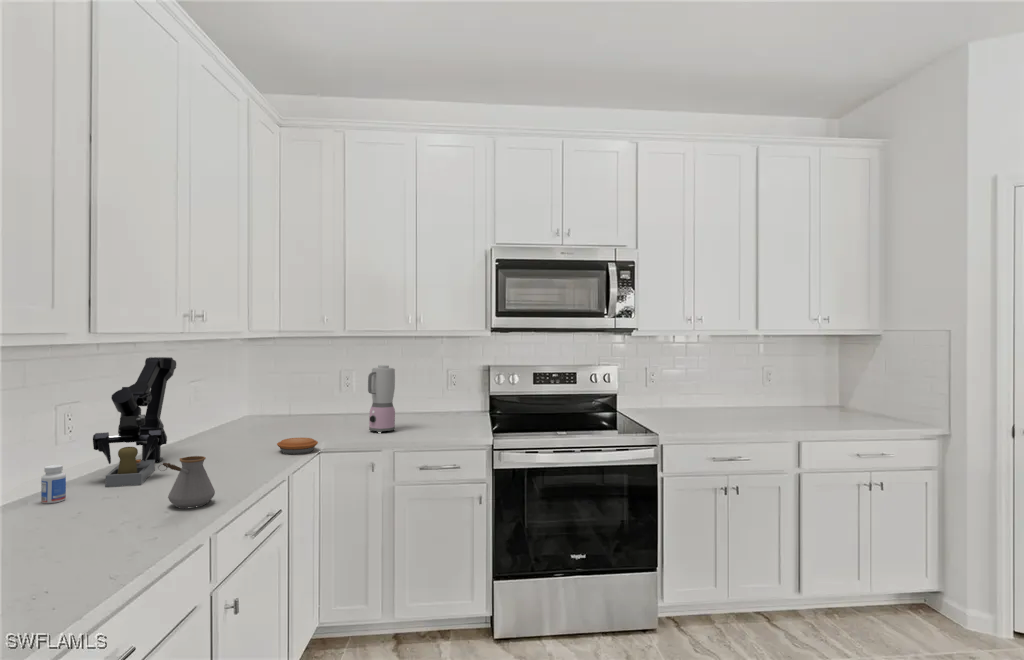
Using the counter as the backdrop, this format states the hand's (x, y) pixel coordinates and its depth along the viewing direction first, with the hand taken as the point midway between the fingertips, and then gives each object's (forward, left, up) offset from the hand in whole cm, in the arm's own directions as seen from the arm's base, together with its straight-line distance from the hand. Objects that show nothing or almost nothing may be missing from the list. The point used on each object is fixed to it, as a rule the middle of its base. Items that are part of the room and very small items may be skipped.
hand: (127, 461), depth 184 cm
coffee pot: (+35, +20, -7) cm, 41 cm away
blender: (-73, +89, -7) cm, 115 cm away
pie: (-36, +51, -7) cm, 63 cm away
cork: (-1, 0, -7) cm, 7 cm away
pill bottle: (+16, -14, -7) cm, 22 cm away
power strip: (-7, 0, -7) cm, 10 cm away
